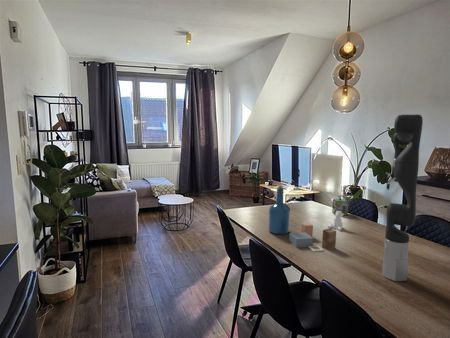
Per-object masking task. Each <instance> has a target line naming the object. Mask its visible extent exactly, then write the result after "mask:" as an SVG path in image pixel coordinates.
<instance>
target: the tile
mask: <svg viewBox="0 0 450 338" xmlns="http://www.w3.org/2000/svg"><path fill="white" fill-rule="evenodd" d="M308 248H309V249H310V251H312V252H314V253H315V252H324V248H323V247H322V246H320V245H313V246H308Z"/></svg>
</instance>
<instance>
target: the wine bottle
mask: <svg viewBox="0 0 450 338" xmlns="http://www.w3.org/2000/svg"><path fill="white" fill-rule="evenodd" d="M284 192H285V191H284V187H283V185H280V184H279V185H278V186H277V187H276V200H275V201H276V202H275V203H274V204H272V205H270V206H269V208H268V226H267V228H268V232H269V233H271V234H275V235H287V234H288V233H289V232H290V221H291V208H290V207H289V205H288V204H286V203H284Z"/></svg>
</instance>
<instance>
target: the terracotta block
mask: <svg viewBox="0 0 450 338" xmlns="http://www.w3.org/2000/svg"><path fill="white" fill-rule="evenodd" d="M313 230H314V225H313V224H312V223H310V222H301V230H300V233H302V232H306V233H307V234H308V235H310V236H311V237H312V238H313V234H314V233H313V232H314V231H313Z"/></svg>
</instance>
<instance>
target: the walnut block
mask: <svg viewBox="0 0 450 338" xmlns="http://www.w3.org/2000/svg"><path fill="white" fill-rule="evenodd" d="M321 241H322V242H321V248H322V249H325V250H328V251H332V250H335V249H336V243H337V230H336V229H333V228H326V229H322V239H321Z"/></svg>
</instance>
